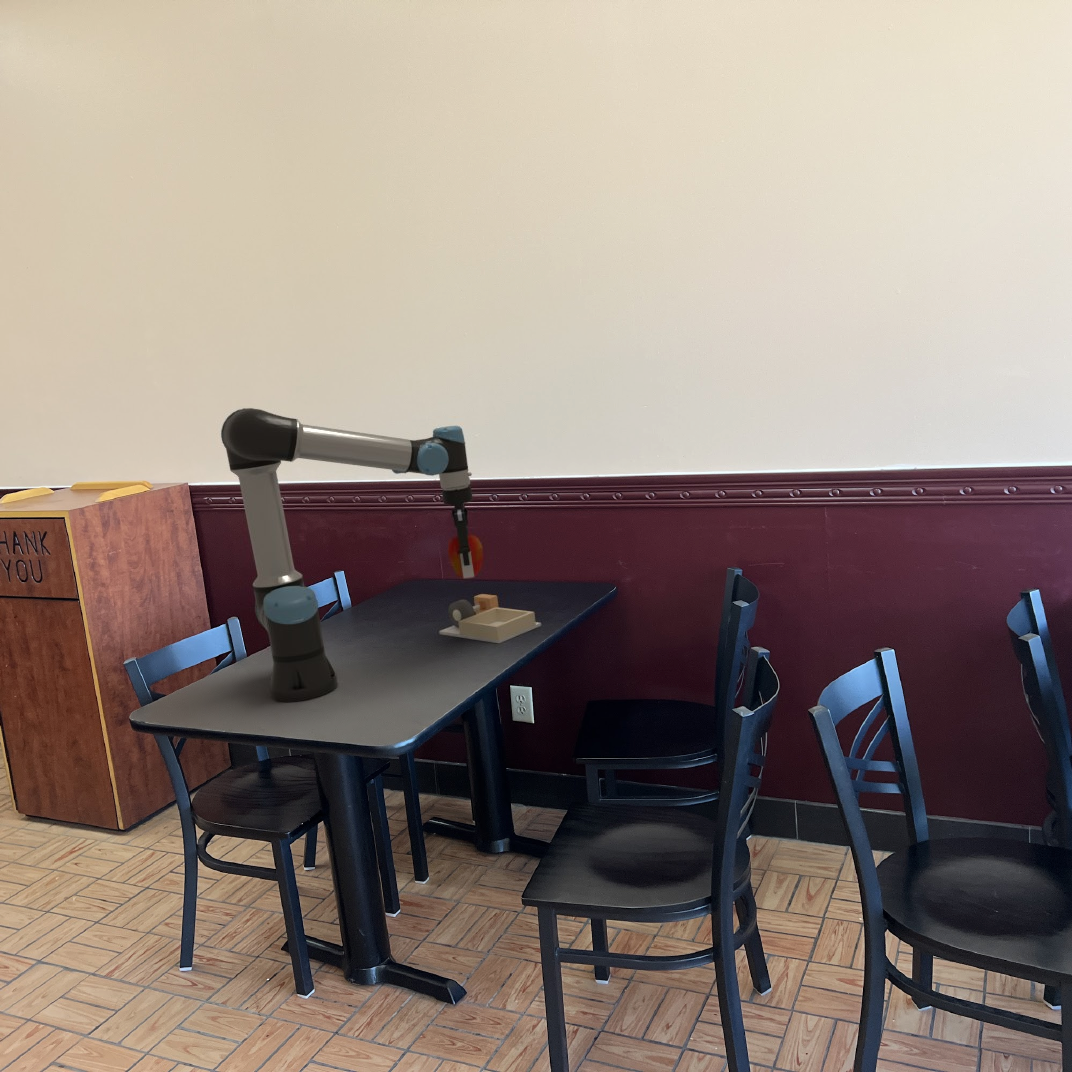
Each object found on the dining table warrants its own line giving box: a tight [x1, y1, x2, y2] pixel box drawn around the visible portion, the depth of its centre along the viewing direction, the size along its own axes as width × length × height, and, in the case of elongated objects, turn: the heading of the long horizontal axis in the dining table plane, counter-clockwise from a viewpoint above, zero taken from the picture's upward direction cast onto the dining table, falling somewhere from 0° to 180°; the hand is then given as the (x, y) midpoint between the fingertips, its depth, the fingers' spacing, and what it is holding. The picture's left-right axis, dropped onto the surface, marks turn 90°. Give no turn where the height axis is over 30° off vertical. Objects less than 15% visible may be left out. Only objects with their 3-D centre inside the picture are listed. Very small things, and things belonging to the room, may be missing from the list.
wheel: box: [447, 598, 480, 628], centre depth 260 cm, size 8×7×7 cm
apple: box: [447, 534, 484, 580], centre depth 250 cm, size 9×9×12 cm
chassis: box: [438, 593, 542, 644], centre depth 256 cm, size 16×22×7 cm
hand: (468, 573), depth 251 cm, fingers closed on apple, 9 cm apart
